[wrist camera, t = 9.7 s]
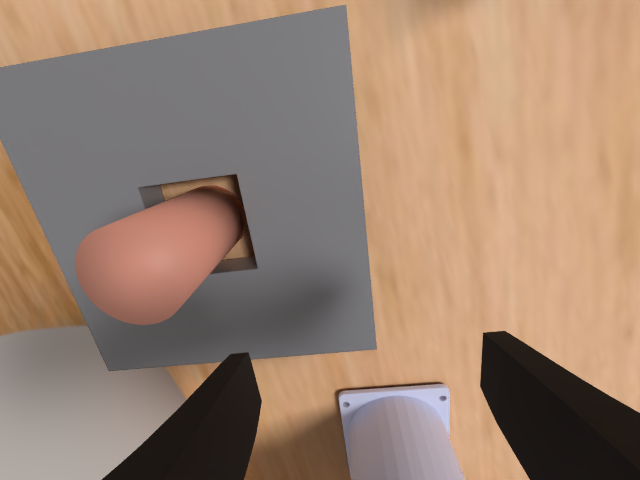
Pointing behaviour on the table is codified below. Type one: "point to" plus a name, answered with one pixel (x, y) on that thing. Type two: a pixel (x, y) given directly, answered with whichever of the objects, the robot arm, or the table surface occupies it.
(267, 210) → the socket plate
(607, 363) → the table surface
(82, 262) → the peg
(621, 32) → the table surface
